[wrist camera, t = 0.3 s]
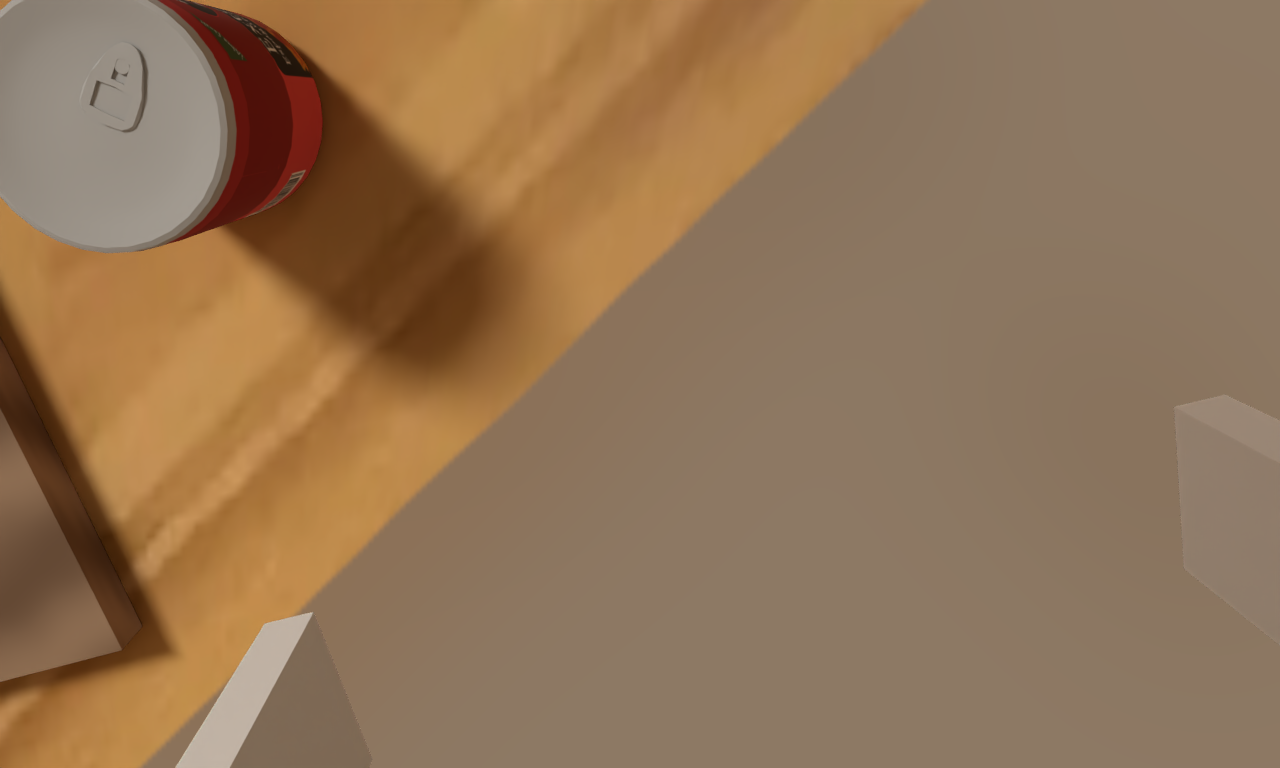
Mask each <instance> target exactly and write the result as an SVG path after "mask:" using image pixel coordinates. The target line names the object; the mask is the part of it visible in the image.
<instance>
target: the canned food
mask: <svg viewBox="0 0 1280 768" xmlns="http://www.w3.org/2000/svg"><path fill="white" fill-rule="evenodd" d="M322 126H323V119H322V109H321V101H320V98H319V94H318V91H317V88H316V84H315V81H314V79H313V77H312V75H311V73H310V71H309V69H308V67H307V65H306V64H305V62H304V61H303V60H302V58H301V57H300V55H299V54H298V53H297V51H296V50H295V49H294V47H293V46H292V45H290V44H289V43H288V42H287V41H286V40H285V39H284V38H283V37H282V36H281V35H280V34H279V33H277V32H276V31H274V30H273V29H271V28H269V27H268V26H266V25H265V24H263V23H262V22H260V21H257V20H255V19H252V18H249V17H247V16H244V15H242V14H238V13H234V12H230V11H226V10H222V9H218V8H215V7H211V6H207V5H203V4H199V3H195V2H191V1H187V0H12V1H11V2H9V3H8V4H7V5H6V6H5V7H4V8H3V9H2V10H0V197H1V198H2V199H3V200H4V201H5V202H6V203H7V205H8V206H9V207H10V208H11V209H12V210H13V211H14V212H15V213H16V214H17V215H19V216H20V217H21V218H22V219H24V220H25V221H26V222H27V223H29V224H30V225H31V226H32V227H34V228H35V229H37V230H39V231H40V232H42V233H44V234H46V235H48V236H50V237H51V238H53V239H55V240H57V241H59V242H62V243H65V244H68V245H71V246H74V247H77V248H79V249H82V250H89V251H96V252H103V253H120V252H133V251H143V250H147V249H151V248H155V247H159V246H162V245H166V244H169V243H172V242H176V241H180V240H183V239H185V238H188V237H191V236H194V235H197V234H200V233H202V232H205V231H208V230H211V229H214V228H217V227H219V226H222V225H225V224H228V223H231V222H234V221H236V220H239V219H242V218H245V217H248V216H251V215H253V214H256V213H259V212H262V211H265V210H267V209H269V208H271V207H273V206H275V205H277V204H279V203H281V202H282V201H284V200H285V199H286V198H287V197H289V196H290V195H291V194H292V193H294V192H295V191H296V190H297V189H298V187H299V186H300V185H301V184H302V183H303V181H304V180H305V179H306V178H307V176H308V174H309V172H310V170H311V169H312V167H313V165H314V163H315V161H316V158H317V154H318V151H319V147H320V144H321V137H322Z"/></svg>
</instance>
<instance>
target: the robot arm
mask: <svg viewBox="0 0 1280 768" xmlns="http://www.w3.org/2000/svg"><path fill="white" fill-rule="evenodd" d="M1174 417H1175V434H1176V450H1177V465H1178V466H1177V467H1178V483H1179V499H1180V516H1181V531H1182V548H1183V565H1184V569H1185V570H1186V571H1187V572H1188V573H1190V574H1191V575H1192V576H1193V577H1195V578H1196V579H1197V580H1198V581H1200V582H1201V583H1202V584H1203V585H1205V586H1206V587H1207V588H1208V589H1210V590H1211V591H1212V592H1213V593H1215V594H1216V595H1217V596H1218V597H1220V598H1221V599H1222V600H1224V601H1225V602H1226V603H1227V604H1228V605H1230V606H1231V607H1232V608H1234V609H1235V610H1236V611H1237V612H1238V613H1240V614H1241V615H1242V616H1244V617H1245V618H1246V619H1247V620H1248V621H1250V622H1251V623H1252V624H1254V625H1255V626H1256V627H1257V628H1258V629H1260V630H1261V631H1262V632H1263V633H1265V634H1266V635H1267V636H1268V637H1270V638H1271V639H1272V640H1274V641H1275V642H1276V643H1277V644H1278V645H1280V420H1278V419H1276V418H1274V417H1272V416H1270V415H1268V414H1266V413H1263V412H1261V411H1259V410H1257V409H1255V408H1253V407H1251V406H1249V405H1247V404H1244V403H1242V402H1240V401H1238V400H1236V399H1234V398H1232V397H1230V396H1227V395H1221V396H1217V397H1212V398H1209V399H1204V400H1200V401H1196V402H1191V403H1187V404H1183V405H1179V406H1175V407H1174ZM371 761H372V757H371V754H370V752H369V749H368V747H367V745H366V742H365V739H364V737H363V734H362V732H361V729H360V727H359V724H358V722H357V719H356V717H355V714H354V712H353V709H352V707H351V704H350V702H349V699H348V696H347V694H346V691H345V689H344V687H343V684H342V681H341V679H340V676H339V674H338V671H337V669H336V667H335V664H334V662H333V659H332V656H331V654H330V651H329V649H328V646H327V644H326V641H325V639H324V637H323V634H322V631H321V629H320V626H319V624H318V621H317V619H316V616H315V614H314V612H311V613H307V614H303V615H299V616H294V617H290V618H286V619H282V620H278V621H273V622H269V623H265V624H264V626H263V627H262V629H261V630H260V632H259V634H258V635H257V637H256V639H255V640H254V642H253V643H252V645H251V647H250V648H249V650H248V651H247V653H246V655H245V656H244V658H243V659H242V661H241V663H240V664H239V666H238V668H237V669H236V671H235V672H234V674H233V676H232V677H231V679H230V680H229V682H228V684H227V685H226V687H225V688H224V690H223V692H222V693H221V695H220V697H219V698H218V700H217V702H216V703H215V705H214V706H213V708H212V709H211V711H210V713H209V714H208V716H207V717H206V719H205V721H204V722H203V724H202V726H201V727H200V729H199V731H198V732H197V734H196V735H195V737H194V738H193V740H192V742H191V743H190V745H189V747H188V748H187V750H186V751H185V753H184V755H183V756H182V758H181V760H180V761H179V763H178V764H177V766H176V767H175V768H369V767H370V764H371Z"/></svg>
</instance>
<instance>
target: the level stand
mask: <svg viewBox="0 0 1280 768" xmlns="http://www.w3.org/2000/svg"><path fill="white" fill-rule="evenodd" d="M141 628H142V625H141V623H140V620H139V618H138V616H137V614H136V612H135V610H134V608H133V606H132V604H131V602H130V600H129V598H128V596H127V594H126V592H125V590H124V588H123V586H122V584H121V582H120V580H119V578H118V576H117V574H116V572H115V570H114V568H113V566H112V564H111V561H110V559H109V557H108V555H107V553H106V551H105V549H104V547H103V545H102V543H101V541H100V539H99V537H98V535H97V533H96V531H95V529H94V527H93V525H92V523H91V521H90V519H89V517H88V515H87V513H86V511H85V509H84V507H83V505H82V503H81V500H80V498H79V496H78V494H77V492H76V490H75V488H74V486H73V484H72V482H71V480H70V478H69V476H68V474H67V472H66V470H65V468H64V466H63V464H62V462H61V460H60V458H59V456H58V454H57V452H56V450H55V448H54V446H53V444H52V441H51V439H50V437H49V435H48V433H47V431H46V429H45V427H44V425H43V423H42V421H41V419H40V417H39V415H38V413H37V411H36V409H35V407H34V405H33V403H32V401H31V399H30V397H29V395H28V393H27V391H26V389H25V387H24V385H23V382H22V380H21V378H20V376H19V374H18V372H17V370H16V368H15V366H14V364H13V362H12V360H11V358H10V356H9V354H8V352H7V350H6V348H5V346H4V344H3V342H2V340H1V338H0V682H2V681H6V680H9V679H13V678H17V677H21V676H25V675H29V674H32V673H36V672H40V671H44V670H48V669H52V668H56V667H59V666H63V665H67V664H71V663H75V662H79V661H82V660H86V659H90V658H94V657H98V656H102V655H105V654H109V653H113V652H117V651H121V650H123V649H124V647H125V646H126V645H127V644H128V643H129V642H130V640H131V639H132V638H133V637H134V636H135V635H136V633H137V632H138V631H139V630H140V629H141Z"/></svg>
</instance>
